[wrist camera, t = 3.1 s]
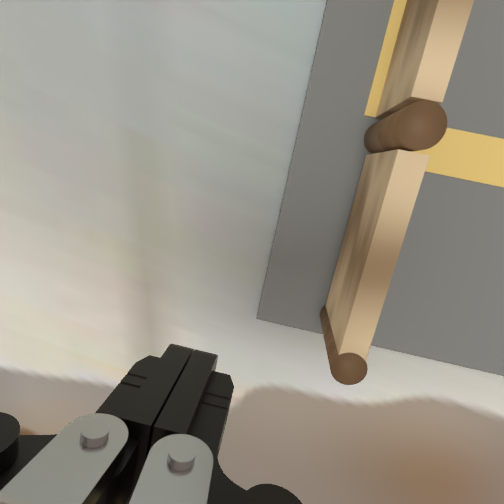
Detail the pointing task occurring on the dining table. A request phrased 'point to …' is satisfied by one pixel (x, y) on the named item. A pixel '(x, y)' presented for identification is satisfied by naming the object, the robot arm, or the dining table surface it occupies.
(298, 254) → the card
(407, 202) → the fence panel hinged
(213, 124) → the dining table surface
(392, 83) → the fence fixed
